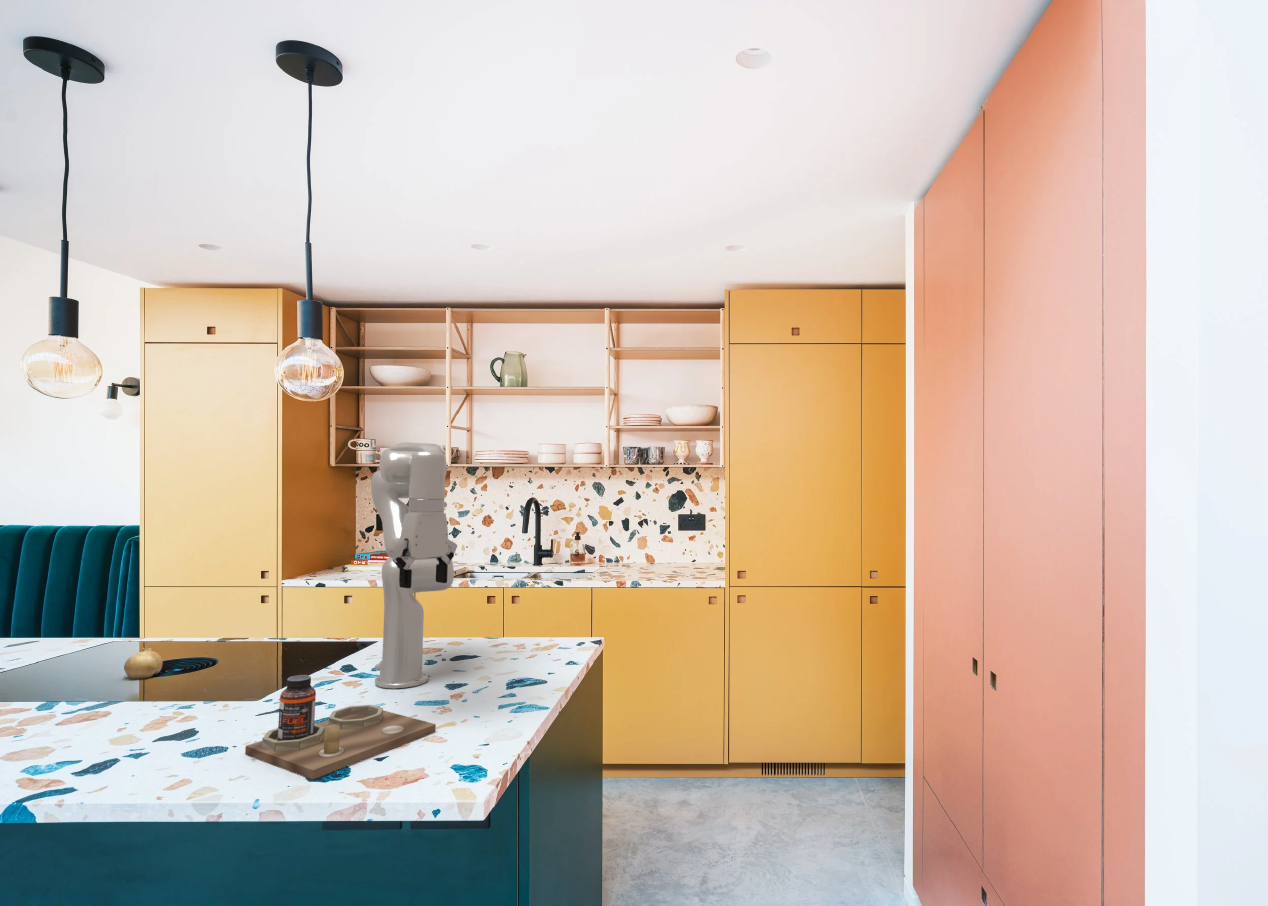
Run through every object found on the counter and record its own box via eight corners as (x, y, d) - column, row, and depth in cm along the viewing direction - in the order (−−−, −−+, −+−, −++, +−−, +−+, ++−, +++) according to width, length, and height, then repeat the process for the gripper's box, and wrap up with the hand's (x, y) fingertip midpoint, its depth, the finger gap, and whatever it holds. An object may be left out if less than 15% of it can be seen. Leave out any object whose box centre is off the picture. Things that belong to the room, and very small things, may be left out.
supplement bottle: (276, 748, 116) (279, 683, 117) (277, 737, 121) (280, 675, 122) (314, 743, 119) (316, 679, 119) (313, 732, 124) (316, 671, 125)
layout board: (245, 754, 117) (246, 720, 117) (369, 714, 139) (370, 685, 140) (312, 779, 107) (314, 742, 107) (435, 731, 129) (436, 700, 129)
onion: (167, 676, 167) (169, 647, 168) (131, 683, 161) (133, 653, 161) (154, 671, 172) (155, 643, 172) (117, 678, 165) (119, 649, 166)
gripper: (445, 506, 154) (443, 579, 153) (381, 507, 139) (378, 588, 138) (468, 507, 150) (465, 582, 149) (404, 508, 135) (401, 591, 134)
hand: (423, 584), depth 144 cm, fingers open, 9 cm apart
